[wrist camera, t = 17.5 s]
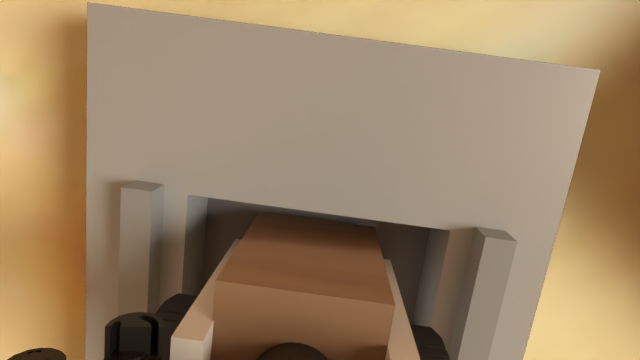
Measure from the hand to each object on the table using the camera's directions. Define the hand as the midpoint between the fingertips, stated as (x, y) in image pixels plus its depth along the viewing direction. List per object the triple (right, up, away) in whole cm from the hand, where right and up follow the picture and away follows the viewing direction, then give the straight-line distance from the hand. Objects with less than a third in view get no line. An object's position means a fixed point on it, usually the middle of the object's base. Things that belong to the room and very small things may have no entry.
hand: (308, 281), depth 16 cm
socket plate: (0, -2, +2) cm, 3 cm away
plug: (0, 0, 0) cm, 0 cm away
